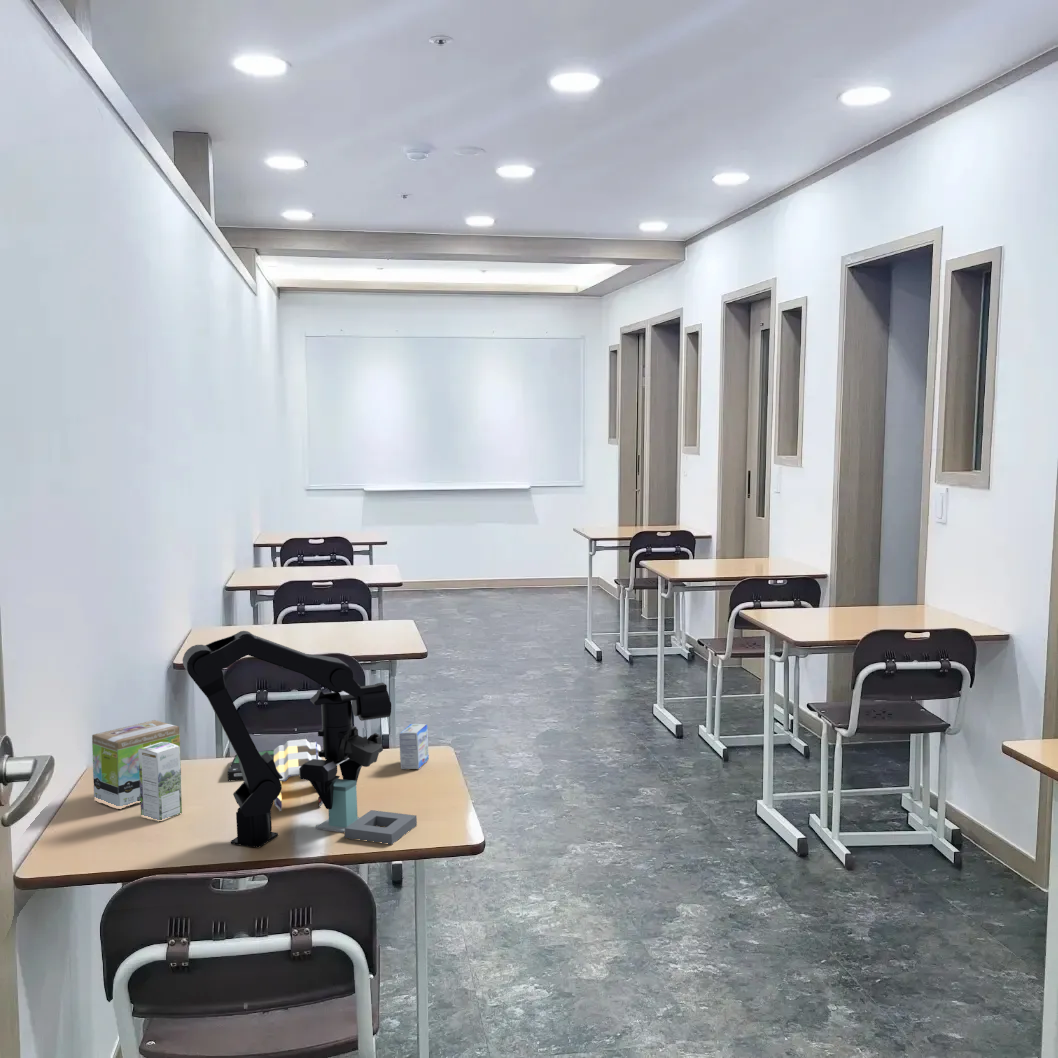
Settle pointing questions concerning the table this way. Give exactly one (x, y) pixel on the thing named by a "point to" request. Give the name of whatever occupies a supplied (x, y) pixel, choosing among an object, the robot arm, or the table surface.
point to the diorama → (294, 761)
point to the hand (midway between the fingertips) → (340, 802)
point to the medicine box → (413, 746)
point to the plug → (343, 803)
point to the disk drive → (235, 769)
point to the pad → (330, 827)
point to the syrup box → (160, 780)
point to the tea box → (125, 759)
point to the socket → (392, 821)
